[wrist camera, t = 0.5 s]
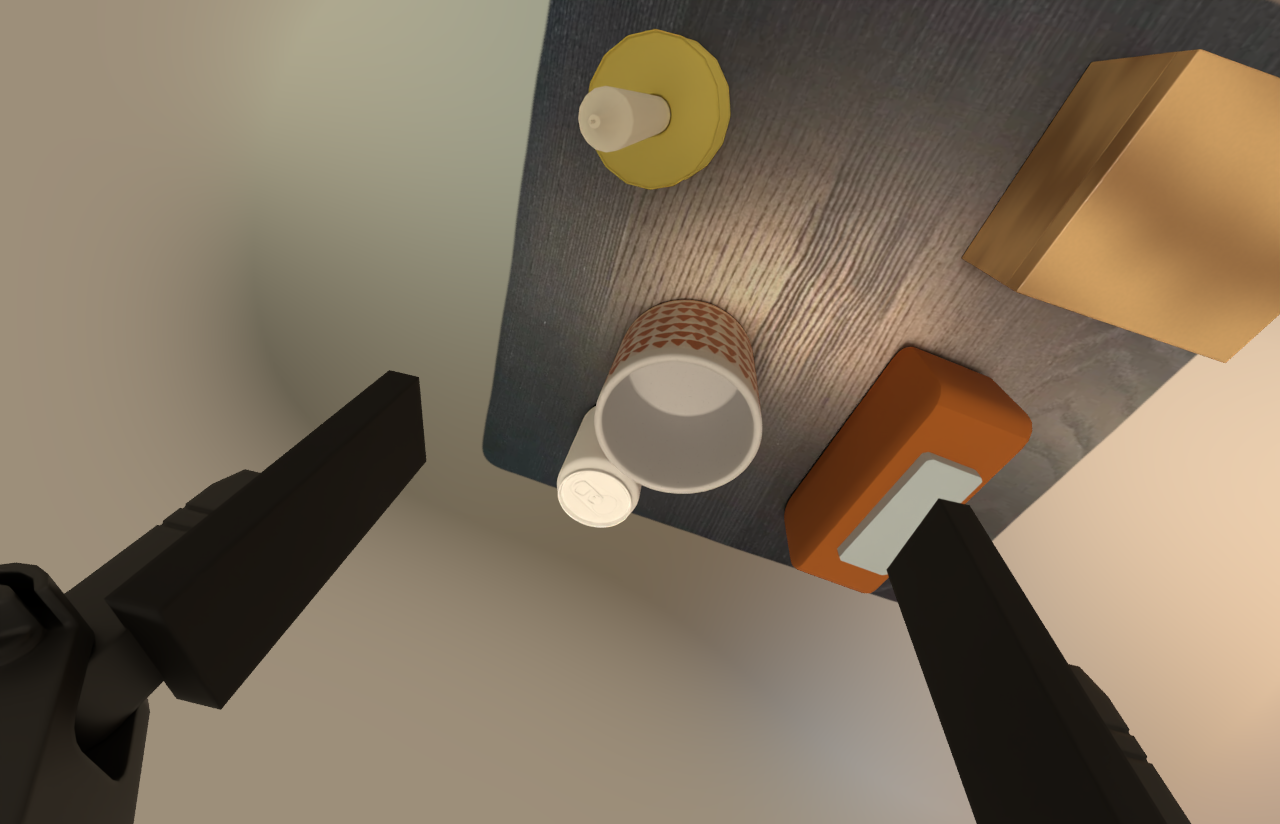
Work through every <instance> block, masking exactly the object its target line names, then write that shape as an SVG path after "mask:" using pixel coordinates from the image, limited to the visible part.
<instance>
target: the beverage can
mask: <svg viewBox="0 0 1280 824" xmlns="http://www.w3.org/2000/svg"><path fill="white" fill-rule="evenodd" d="M595 408H596V406H595V407H593V408H592V409H590V410H589V411H588V412H587V414H586V415H585V417H584V419H583V421H582V423H581V425H580V428H579V430H578V432H577V434H576V437H575V439H574V441H573V443H572V446H571V448H570V450H569V453H568V455H567V457H566V459H565V462H564V464H563V466H562V468H561V471H560V473H559V476H558V479H557V490H558V499H559V502H560V504H561V506H562V508H563V510H564V511H565V512H566V513H567V514H568V515H569V516H570V517H572V518H573V519H574V520H576V521H578V522H580V523H582V524H585V525H588V526H592V527H601V528H602V527H611V526H614V525H617V524H619V523H621V522H622V521H624V520H625V519H626V518H627V517H628V515H629V514H630V513H631V512H632V511H633V510H634V508H635V507H636V505H637V503H638V500H639V495H640V490H641V486H642V485H641V484H639V483H637V482H635V481H633V480H631V479H630V478H628V477H627V476H625V475H624V474H623V473H621V472H620V471H619V470H618V469H617V468H616V467H615V466H614V465H613V464H612V463H611V462H610V461H609V459H608V458H607V457H606V455H605V454H604V452H603V450H602V449H601V447H600V445H599V442H598V439H597V436H596V432H595V427H594V413H595Z"/></svg>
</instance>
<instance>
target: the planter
mask: <svg viewBox="0 0 1280 824" xmlns="http://www.w3.org/2000/svg"><path fill="white" fill-rule="evenodd" d="M594 427H595V432H596V436H597V439H598V442H599V445H600V447H601V449H602V450H603V452H604V454H605V455H606V457H607V458H608V459H609V461H610V462H611V463H612V464H613V465H614V466H615V467H616V468H617V469H618V470H619V471H620V472H621V473H623V474H624V475H625V476H627V477H628V478H630V479H631V480H633V481H635V482H637V483H639V484H641V485H643V486H646V487H648V488H651V489H654V490H658V491H662V492H668V493H679V494H687V493H697V492H703V491H707V490H711V489H714V488H717V487H719V486H722V485H724V484H726V483H728V482H729V481H731V480H733V479H734V478H736V477H737V476H738V475H739V474H741V473H742V472H743V471H744V470H745V469H746V468H747V467H748V465H749V464H750V463H751V461H752V460H753V458H754V457H755V455H756V453H757V451H758V448H759V445H760V442H761V438H762V415H761V408H760V400H759V393H758V386H757V378H756V371H755V363H754V356H753V350H752V346H751V343H750V341H749V338H748V336H747V334H746V333H745V331H744V329H743V328H742V327H741V325H740V324H739V323H738V322H737V321H736V320H735V319H734V318H733V317H732V316H731V315H729V314H728V313H727V312H725V311H724V310H722V309H720V308H718V307H716V306H714V305H711V304H709V303H705V302H701V301H696V300H675V301H670V302H666V303H662V304H660V305H657V306H655V307H653V308H651V309H649V310H648V311H646V312H645V313H643V314H642V315H641V316H639V317H638V318H637V319H636V320H635V321H634V322H633V324H632V325H631V326H630V328H629V329H628V331H627V332H626V334H625V336H624V338H623V341H622V343H621V345H620V348H619V350H618V352H617V355H616V357H615V360H614V362H613V364H612V367H611V369H610V371H609V374H608V376H607V379H606V381H605V383H604V386H603V388H602V390H601V393H600V395H599V398H598V401H597V404H596V408H595V413H594Z"/></svg>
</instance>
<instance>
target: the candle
mask: <svg viewBox="0 0 1280 824" xmlns="http://www.w3.org/2000/svg"><path fill="white" fill-rule="evenodd" d="M730 116H731V113H730V98H729V86H728V83H727V81H726V79H725V77H724V74H723V72H722V70H721V68H720V66H719V63H718V61H717V59H716V58H715V57H713V56H712V55H711V54H710V53H709V52H708V51H707V50H706V49H705V48H703V47H702V46H701V45H700V44H699V43H698V42H697V41H695V40H691V39H687V38H684V37H683V36H680V35H676V34H673V33H669V32H665V31H662V30H658V29H653V30H648V31H644V32H640V33H636V34H632V35H628V36H626V37H625V38H624V39H623V40H622V41H620V42H619V43H618V44H617V45H616V46H614V47H613V48H612V49H611V50H610V51H608V52H607V53H606V54H605V55H604V57H603V59H602V60H601V62H600V64H599V66H598V68H597V70H596V72H595V74H594V76H593V78H592V80H591V82H590V87H589V93H588V94H587V95H586V96H585V98H584V100H583V102H582V104H581V105H580V109H579V117H578V121H579V126H580V131H581V133H582V135H583V137H584V138H585V140H586V142H587V143H588V144H590V145H591V146H592V147H593V148H594V149H595V150H596V151H597V153H598V155H599V156H600V158H601V160H602V161H603V163H604V165H605V167H606V168H607V169H609V170H610V171H611V172H612V173H614V174H615V175H616V176H618V177H619V178H620V179H621V180H623V181H624V182H625V183H627V184H630V185H634V186H638V187H641V188H645V189H649V190H652V189H658V188H664V187H670V186H675V185H676V184H678V183H679V182H681V181H682V180H686V179H688V178H689V177H691V176H693V175H694V174H696V173H697V172H699V171H700V170H702V169H703V168H705V167H706V166H707V165H708V164H709V163H710V161H711V160H712V158H713V157H714V156H715V154H716V153H717V151H718V150H719V149H720V147H721V146H722V144H723V141H724V138H725V134H726V131H727V127H728V124H729V120H730Z"/></svg>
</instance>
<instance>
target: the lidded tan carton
mask: <svg viewBox="0 0 1280 824" xmlns="http://www.w3.org/2000/svg"><path fill="white" fill-rule="evenodd" d="M962 259H964V260H965V261H967V262H969V263H970V264H972V265H973V266H975V267H977V268H978V269H980V270H981V271H983V272H985V273H986V274H988V275H989V276H991V277H993V278H994V279H996V280H997V281H999V282H1001V283H1002V284H1004V285H1005V286H1007V287H1009V288H1010V289H1012V290H1014V291H1015V292H1017V293H1020V294H1023V295H1026V296H1029V297H1032V298H1035V299H1038V300H1041V301H1044V302H1047V303H1050V304H1053V305H1056V306H1058V307H1061V308H1064V309H1067V310H1070V311H1073V312H1076V313H1079V314H1082V315H1085V316H1088V317H1091V318H1094V319H1097V320H1100V321H1103V322H1105V323H1108V324H1111V325H1114V326H1117V327H1120V328H1123V329H1126V330H1129V331H1132V332H1135V333H1138V334H1141V335H1144V336H1147V337H1150V338H1153V339H1155V340H1158V341H1161V342H1164V343H1167V344H1170V345H1173V346H1176V347H1179V348H1182V349H1185V350H1188V351H1191V352H1194V353H1197V354H1200V355H1203V356H1206V357H1208V358H1211V359H1215V360H1217V361H1220V362H1223V363H1226V362H1227V361H1228V360H1229V359H1231V358H1232V357H1233V356H1234V355H1235V354H1236V353H1237V352H1238V351H1239V350H1240V349H1242V348H1243V347H1244V346H1245V345H1246V344H1247V343H1248V342H1249V341H1250V340H1252V339H1253V338H1254V337H1255V336H1256V335H1257V334H1258V333H1259V332H1261V331H1262V330H1263V329H1264V328H1265V327H1266V326H1267V325H1268V324H1270V323H1271V322H1272V321H1273V320H1274V319H1275V318H1276V317H1277V316H1278V315H1279V314H1280V78H1279V77H1276V76H1273V75H1270V74H1268V73H1265V72H1262V71H1259V70H1257V69H1254V68H1251V67H1248V66H1246V65H1243V64H1240V63H1237V62H1235V61H1232V60H1229V59H1226V58H1224V57H1221V56H1218V55H1215V54H1213V53H1210V52H1207V51H1204V50H1202V49H1197V50H1189V51H1181V52H1170V53H1162V54H1154V55H1146V56H1138V57H1130V58H1121V59H1113V60H1105V61H1097V62H1091V64H1090V65H1089V67H1088V68H1087V70H1086V71H1085V73H1084V74H1083V76H1082V77H1081V79H1080V80H1079V82H1078V83H1077V85H1076V86H1075V88H1074V89H1073V91H1072V92H1071V94H1070V95H1069V97H1068V98H1067V100H1066V101H1065V103H1064V104H1063V106H1062V107H1061V109H1060V110H1059V112H1058V113H1057V115H1056V116H1055V118H1054V119H1053V121H1052V122H1051V124H1050V125H1049V127H1048V128H1047V130H1046V131H1045V133H1044V134H1043V136H1042V137H1041V139H1040V141H1039V142H1038V144H1037V145H1036V147H1035V148H1034V150H1033V151H1032V153H1031V154H1030V156H1029V157H1028V159H1027V160H1026V162H1025V163H1024V165H1023V166H1022V168H1021V169H1020V171H1019V172H1018V174H1017V175H1016V177H1015V178H1014V180H1013V181H1012V183H1011V184H1010V186H1009V187H1008V189H1007V190H1006V192H1005V193H1004V195H1003V196H1002V198H1001V199H1000V201H999V202H998V204H997V205H996V207H995V208H994V210H993V211H992V213H991V214H990V216H989V217H988V219H987V220H986V222H985V223H984V225H983V226H982V228H981V229H980V231H979V232H978V234H977V235H976V237H975V238H974V240H973V242H972V243H971V245H970V246H969V248H968V249H967V251H966V252H965V254H964V255H963V257H962Z"/></svg>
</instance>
